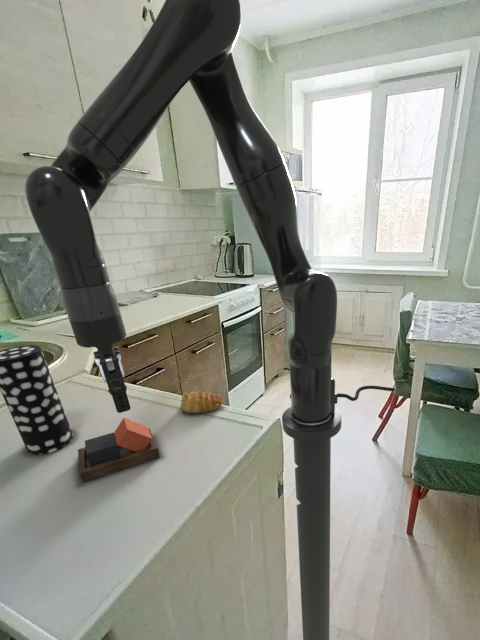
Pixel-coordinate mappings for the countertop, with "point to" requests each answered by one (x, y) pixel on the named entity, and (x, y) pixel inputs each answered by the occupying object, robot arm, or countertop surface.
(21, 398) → the white-spotted black cylinder
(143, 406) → the countertop surface
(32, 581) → the countertop surface
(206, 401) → the pastry
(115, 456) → the charcoal block
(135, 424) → the orange polygonal prism
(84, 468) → the brown wooden tray
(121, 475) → the countertop surface
